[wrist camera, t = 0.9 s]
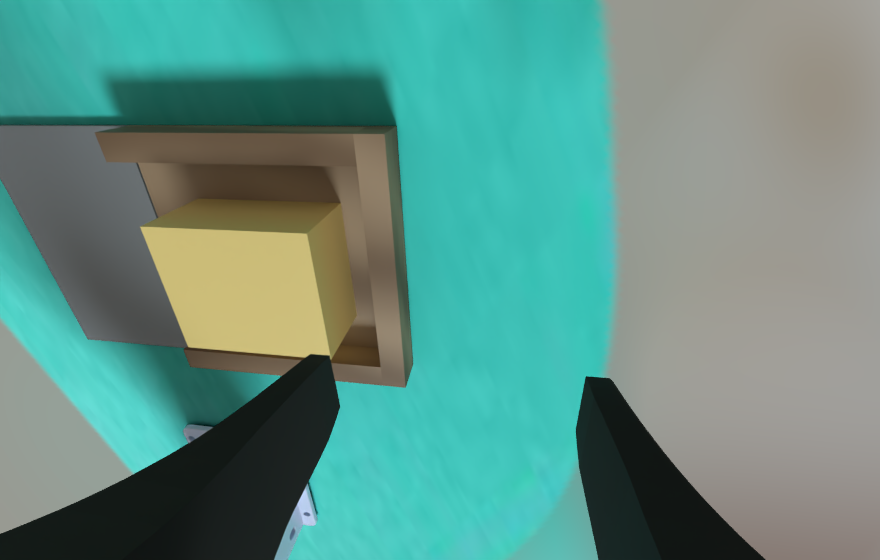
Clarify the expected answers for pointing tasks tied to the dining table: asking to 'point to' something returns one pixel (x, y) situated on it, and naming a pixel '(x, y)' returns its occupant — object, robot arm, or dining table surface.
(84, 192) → the mat
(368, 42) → the dining table surface
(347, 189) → the brown wooden tray
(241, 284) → the block
